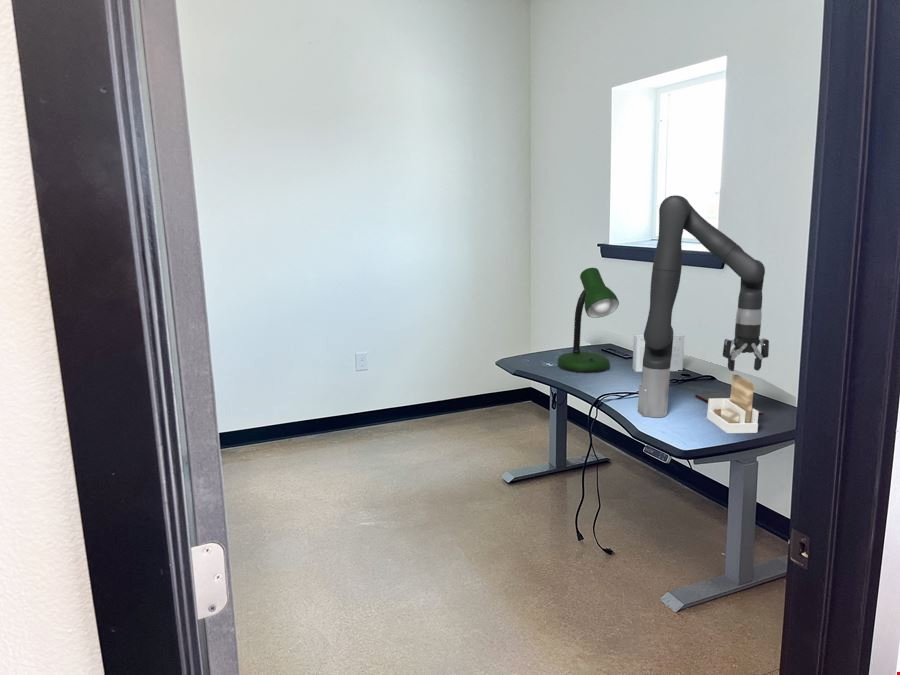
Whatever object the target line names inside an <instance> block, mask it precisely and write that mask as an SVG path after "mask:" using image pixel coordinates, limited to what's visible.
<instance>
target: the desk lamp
mask: <svg viewBox="0 0 900 675" xmlns="http://www.w3.org/2000/svg"><path fill="white" fill-rule="evenodd" d="M579 279H580V282H581V284H582V286H583V287H582V288H583V291H581V293H580V295H579V297H578V298H577V303H576V307H575V311H574V320H573V321H574V326H573V331H574V332H573V342H572V343H573V344H572V345H573V346H572V347H573V349H572V352H567V353H566V352H565V353H563V354H561V355H559V356H558V358H557V366H558V367H559V368H560V369H562V370H564V371H567V372H571V373H572V372H573V373H580V374H581V373H582V374H588V373H589V374H591V373H594V374H595V373H602V372H606V371H609V370H610V368H611V367H610V364H611V363H610V362H611V361H610V359H609V358H608V357H607V356H605V355H603V354H599V353H597V352H588V351H587V352H586V351H581V335H582V334H581V333H582V332H581V328H582V315H583V310H585V313H586V315H587V316H588V317H589V318H595V319H597V318H598V319H599V318H604V317H607V316H609V315H610V314H612V313H614V312H615V311H616V310H617V309H618V307H619V304H620V302H619V299H618V296H617V295H616V294H615V293H614V291H613V290H612V289H610V288H609V287H608V286H606V284H605V282H604V280H603V278H602V275H601V273H600V271H599V269H598V268H597V267H589V268H585V269H584V270H582V272H580V275H579Z"/></svg>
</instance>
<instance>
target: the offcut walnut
mask: <svg viewBox="0 0 900 675" xmlns="http://www.w3.org/2000/svg"><path fill="white" fill-rule="evenodd" d="M714 413H715V414H717V415H718V416H719V417H721V409H714Z"/></svg>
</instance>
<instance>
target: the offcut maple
mask: <svg viewBox="0 0 900 675" xmlns="http://www.w3.org/2000/svg"><path fill="white" fill-rule="evenodd" d="M721 418H723V419H724V420H726V421H728V422H739V413H738V412H737V411H735V410H733V409H731V408H726V409H721Z"/></svg>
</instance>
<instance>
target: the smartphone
mask: <svg viewBox="0 0 900 675" xmlns="http://www.w3.org/2000/svg"><path fill="white" fill-rule="evenodd" d="M730 396H731V395H730ZM730 396H729V395H727V394H726V393H723V392H718V391H716V392H704V393H703V392H702V393H696V394H695V395H694V397H695V398H696V399H698V400H701V401H703V402H705V403H706V404H708V400H709V399H713V398H730ZM752 408H754V409H755V410H757V411H758V412H759V413H758V416H761V415H762V416H763V415H765V413H764V412H763V411H761V410H759V409H757V408H755V407H753V406H752Z"/></svg>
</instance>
